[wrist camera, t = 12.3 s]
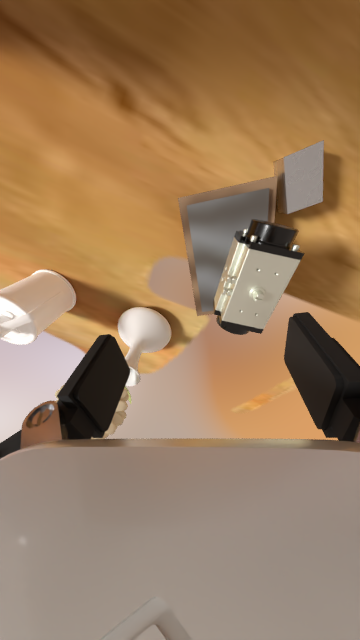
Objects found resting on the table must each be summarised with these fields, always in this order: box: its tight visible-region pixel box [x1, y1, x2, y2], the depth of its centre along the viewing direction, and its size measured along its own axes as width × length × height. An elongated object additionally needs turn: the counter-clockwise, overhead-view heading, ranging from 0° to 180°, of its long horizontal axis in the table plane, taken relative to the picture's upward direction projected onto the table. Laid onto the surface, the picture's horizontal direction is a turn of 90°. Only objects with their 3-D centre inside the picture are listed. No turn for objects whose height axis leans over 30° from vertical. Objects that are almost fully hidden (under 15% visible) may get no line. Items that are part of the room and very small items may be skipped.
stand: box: [178, 176, 277, 316], centre depth 30 cm, size 18×12×5 cm, turn 11°
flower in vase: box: [55, 307, 171, 439], centre depth 31 cm, size 13×11×25 cm
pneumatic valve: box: [213, 219, 304, 335], centre depth 23 cm, size 6×12×12 cm, turn 169°
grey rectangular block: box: [273, 140, 324, 214], centre depth 24 cm, size 6×4×4 cm, turn 20°
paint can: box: [0, 270, 76, 345], centre depth 31 cm, size 10×9×20 cm
